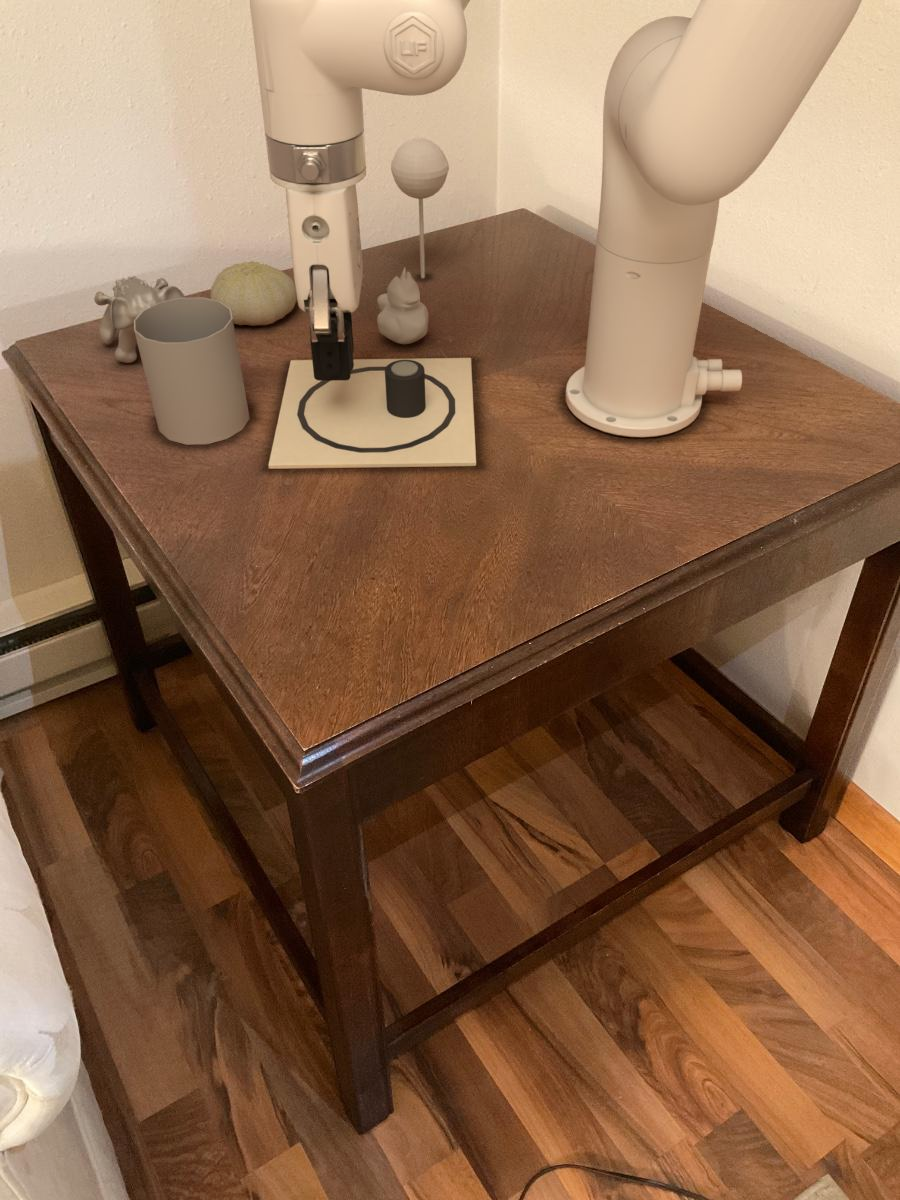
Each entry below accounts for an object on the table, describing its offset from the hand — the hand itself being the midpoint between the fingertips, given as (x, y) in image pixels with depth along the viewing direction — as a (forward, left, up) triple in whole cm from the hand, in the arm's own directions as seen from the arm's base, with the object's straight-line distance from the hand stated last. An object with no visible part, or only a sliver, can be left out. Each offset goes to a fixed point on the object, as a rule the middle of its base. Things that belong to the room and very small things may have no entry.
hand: (334, 364), depth 89 cm
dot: (0, 0, 0) cm, 0 cm away
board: (-4, 0, -5) cm, 6 cm away
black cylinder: (-6, 0, -5) cm, 8 cm away
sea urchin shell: (+10, -20, -5) cm, 23 cm away
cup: (+12, +1, -5) cm, 14 cm away
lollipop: (-8, -28, -5) cm, 29 cm away
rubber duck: (-6, -14, -5) cm, 16 cm away
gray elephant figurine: (+19, -11, -5) cm, 23 cm away
